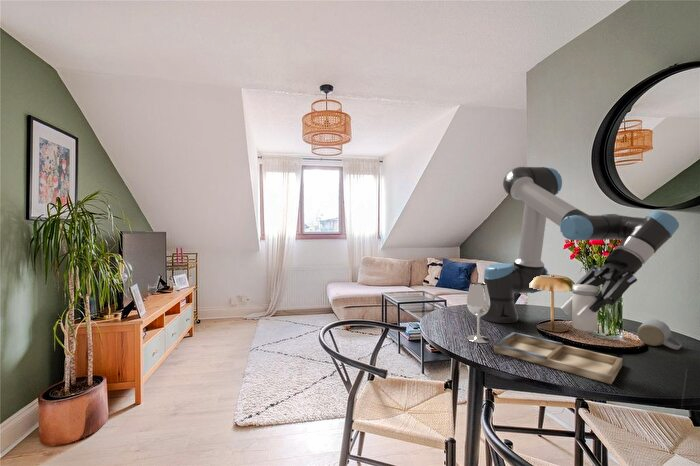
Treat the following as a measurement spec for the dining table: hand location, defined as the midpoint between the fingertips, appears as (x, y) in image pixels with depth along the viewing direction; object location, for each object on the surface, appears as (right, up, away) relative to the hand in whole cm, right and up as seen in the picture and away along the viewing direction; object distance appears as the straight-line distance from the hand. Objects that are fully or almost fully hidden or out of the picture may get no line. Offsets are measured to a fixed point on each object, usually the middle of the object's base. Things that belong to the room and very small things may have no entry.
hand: (572, 314), depth 95 cm
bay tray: (-1, -15, +6) cm, 16 cm away
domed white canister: (+4, -4, 0) cm, 5 cm away
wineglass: (-18, -15, +24) cm, 33 cm away
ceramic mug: (+41, -15, +18) cm, 47 cm away
